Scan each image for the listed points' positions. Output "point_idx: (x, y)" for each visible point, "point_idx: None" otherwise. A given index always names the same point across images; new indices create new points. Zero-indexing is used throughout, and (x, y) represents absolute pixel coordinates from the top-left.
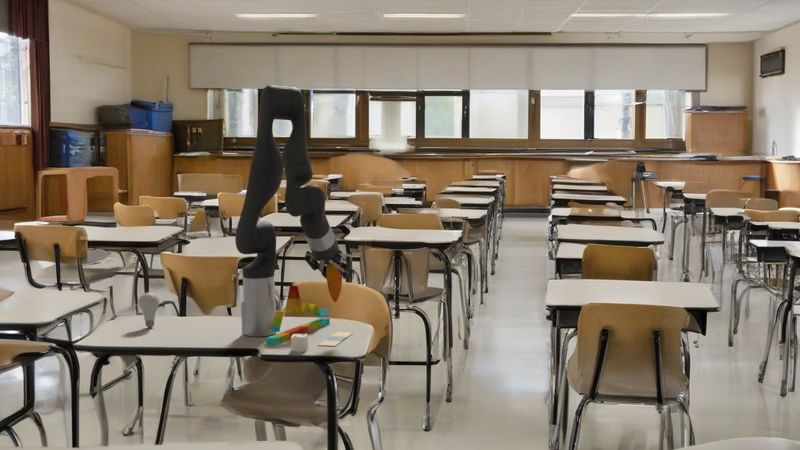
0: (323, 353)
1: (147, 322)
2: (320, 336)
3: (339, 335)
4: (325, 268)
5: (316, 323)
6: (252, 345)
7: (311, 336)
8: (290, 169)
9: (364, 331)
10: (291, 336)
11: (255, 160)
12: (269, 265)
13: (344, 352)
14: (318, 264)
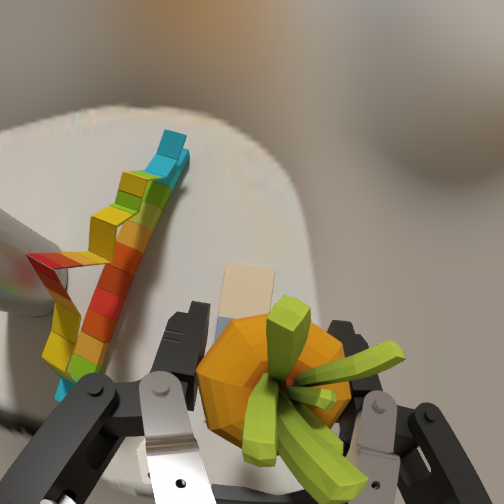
0: (237, 485)
1: None
2: (186, 310)
3: (242, 308)
4: (193, 391)
5: (158, 208)
6: (47, 401)
7: (161, 310)
8: None
9: (300, 244)
10: (141, 476)
11: None
12: None
13: (288, 472)
14: (128, 423)
